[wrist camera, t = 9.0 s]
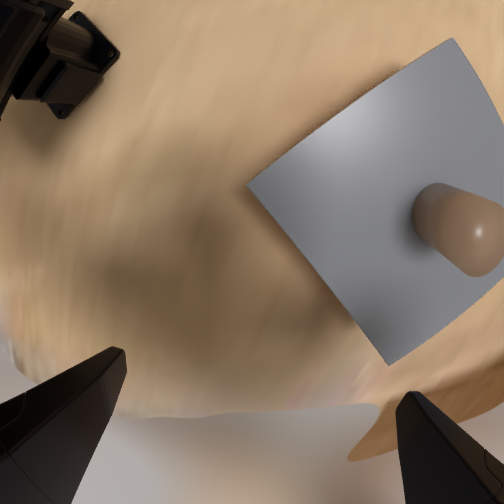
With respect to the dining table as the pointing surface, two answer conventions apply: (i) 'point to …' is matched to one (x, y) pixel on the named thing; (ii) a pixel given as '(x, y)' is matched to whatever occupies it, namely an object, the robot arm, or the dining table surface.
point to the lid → (400, 200)
